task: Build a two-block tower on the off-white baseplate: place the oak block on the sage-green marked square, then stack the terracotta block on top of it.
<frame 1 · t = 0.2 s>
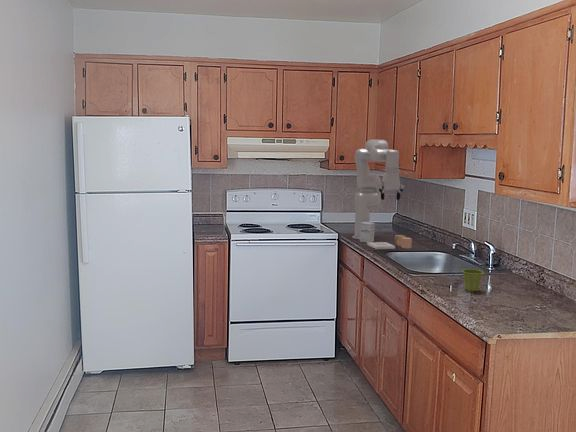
hand: (390, 199, 365), 31 cm above the counter, tool pointing down, fingers open, 9 cm apart
oak block: (400, 245, 390), on the counter
plant pot: (471, 290, 278), on the counter
terracotta block: (405, 247, 382), on the counter
supplement box: (366, 242, 399), on the counter
baseplate: (380, 246, 382), on the counter
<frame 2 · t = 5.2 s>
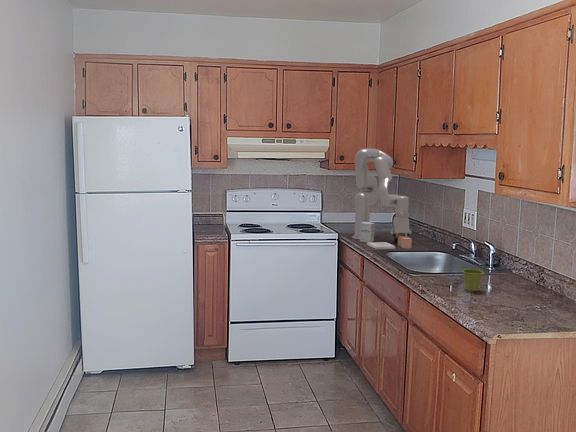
hand: (400, 243, 390), 1 cm above the counter, tool pointing down, fingers closed on oak block, 5 cm apart
oak block: (400, 245, 390), on the counter, touching gripper
everything else where it was.
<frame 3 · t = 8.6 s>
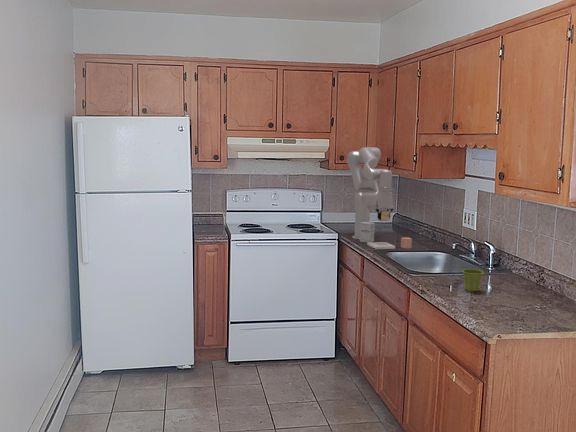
hand: (383, 218, 380), 17 cm above the counter, tool pointing down, fingers closed on oak block, 5 cm apart
oak block: (383, 220, 380), point 16 cm above the counter, touching gripper
everything else where it was.
when the fingers open (4 cm above the counter, at t = 12.1 s): oak block drops 1 cm, resting on baseplate.
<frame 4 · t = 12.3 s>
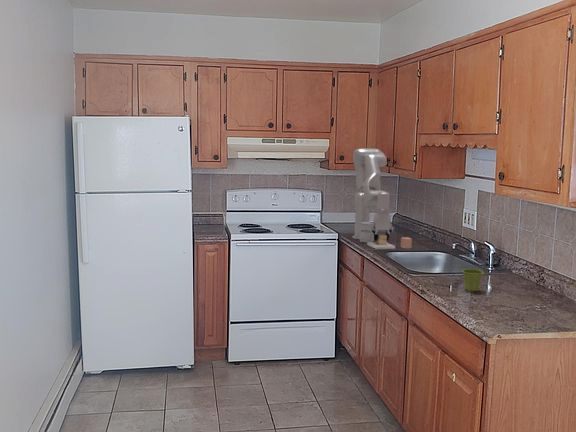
hand: (381, 240, 382), 4 cm above the counter, tool pointing down, fingers open, 6 cm apart
oak block: (381, 244, 382), point 2 cm above the counter, touching baseplate
everything else where it was.
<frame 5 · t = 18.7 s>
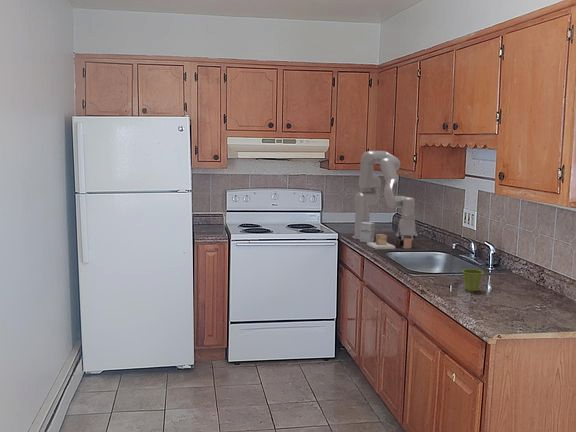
hand: (406, 246, 382), 1 cm above the counter, tool pointing down, fingers closed on terracotta block, 5 cm apart
terracotta block: (406, 247, 382), on the counter, touching gripper
everything else where it was.
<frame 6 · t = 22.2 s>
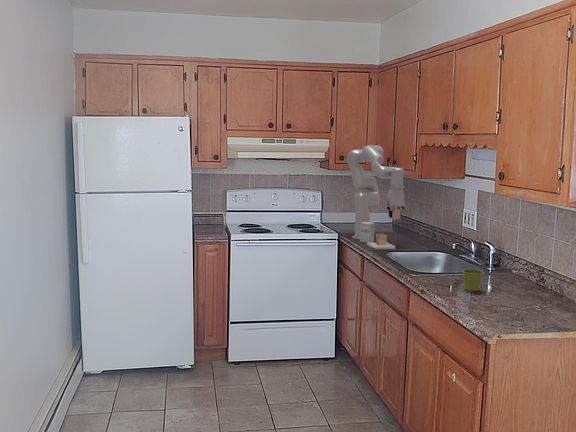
hand: (394, 216, 380), 19 cm above the counter, tool pointing down, fingers closed on terracotta block, 5 cm apart
terracotta block: (394, 218, 380), point 18 cm above the counter, touching gripper
everything else where it was.
when the fingers open (9 cm above the counter, at t = 25.5 s): terracotta block stays where it is, resting on oak block.
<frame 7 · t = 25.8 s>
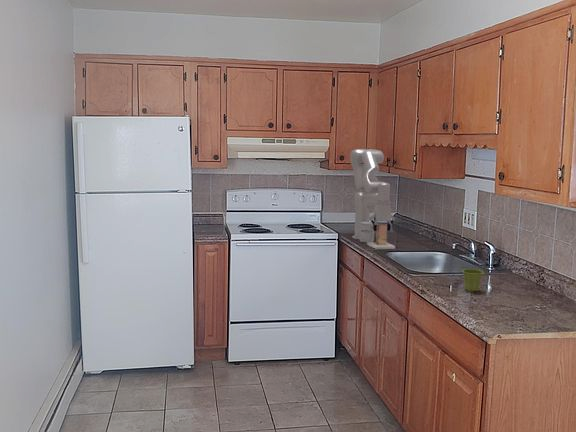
hand: (381, 230, 381), 10 cm above the counter, tool pointing down, fingers open, 8 cm apart
oak block: (381, 244, 382), point 2 cm above the counter, touching baseplate, terracotta block
terracotta block: (381, 234, 381), point 8 cm above the counter, touching oak block
everything else where it was.
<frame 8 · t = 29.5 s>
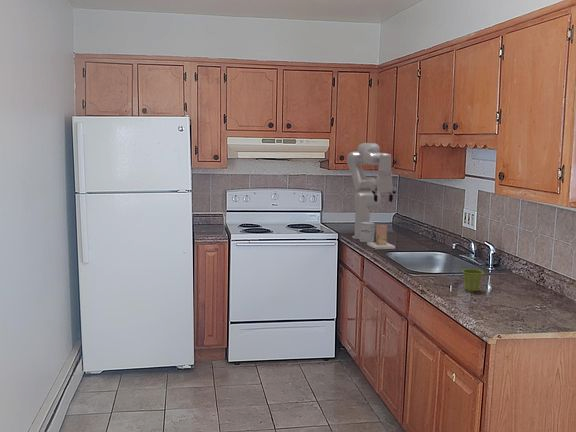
hand: (383, 201, 378), 28 cm above the counter, tool pointing down, fingers open, 9 cm apart
nothing on the counter moved.
at the end: oak block 0.0 cm off-centre on the baseplate, point 1.5 cm above the baseplate's base; terracotta block 0.1 cm off-centre on the oak block, point 6.0 cm above the oak block's base; terracotta block tilted 0° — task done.
